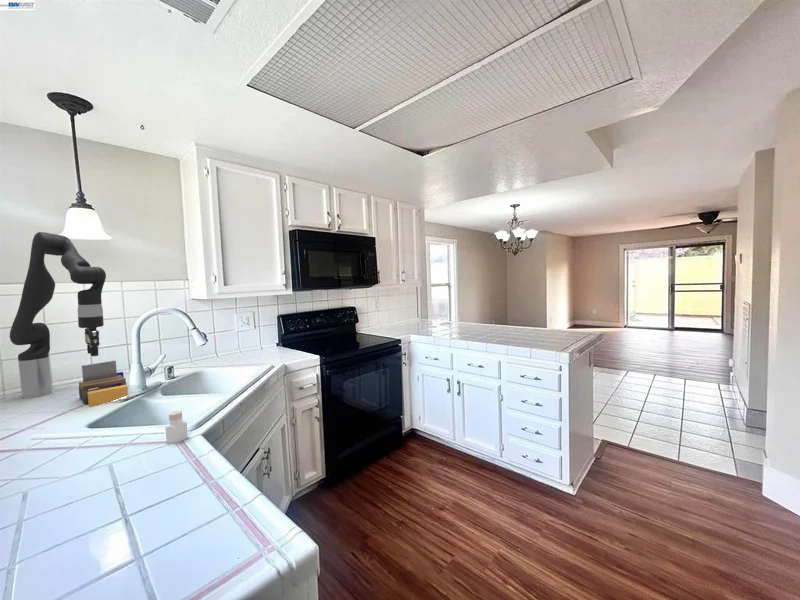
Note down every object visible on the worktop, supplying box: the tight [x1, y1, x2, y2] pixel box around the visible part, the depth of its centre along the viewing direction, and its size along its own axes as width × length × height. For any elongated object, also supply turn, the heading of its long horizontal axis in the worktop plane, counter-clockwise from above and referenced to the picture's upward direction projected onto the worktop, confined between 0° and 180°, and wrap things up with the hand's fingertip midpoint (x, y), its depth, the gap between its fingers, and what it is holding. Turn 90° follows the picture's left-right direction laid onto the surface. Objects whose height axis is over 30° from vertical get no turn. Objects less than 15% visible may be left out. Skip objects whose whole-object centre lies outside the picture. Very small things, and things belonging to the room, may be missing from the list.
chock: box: [88, 384, 129, 408], centre depth 134 cm, size 4×12×6 cm, turn 134°
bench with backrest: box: [78, 360, 128, 405], centre depth 141 cm, size 16×14×14 cm
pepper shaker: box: [164, 410, 189, 444], centre depth 95 cm, size 4×4×10 cm
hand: (92, 354), depth 135 cm, fingers open, 8 cm apart
